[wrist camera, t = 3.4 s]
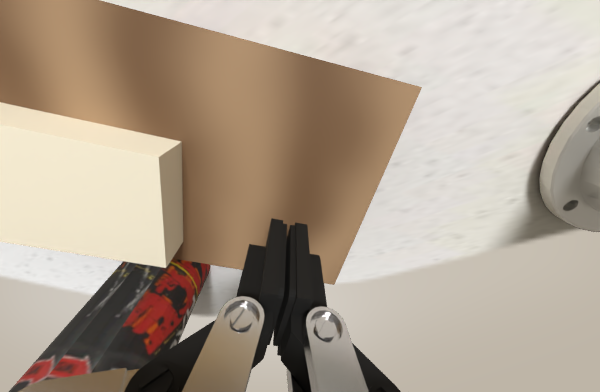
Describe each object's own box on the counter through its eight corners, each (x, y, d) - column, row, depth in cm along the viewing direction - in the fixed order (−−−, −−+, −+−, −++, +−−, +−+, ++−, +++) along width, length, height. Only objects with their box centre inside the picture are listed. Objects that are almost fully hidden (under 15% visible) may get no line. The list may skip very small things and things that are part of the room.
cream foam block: (181, 141, 11) (158, 157, 9) (183, 241, 14) (166, 267, 12) (-45, 92, 10) (-119, 99, 8) (9, 211, 13) (-38, 235, 11)
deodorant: (124, 234, 18) (-294, 649, 5) (199, 231, 18) (-47, 652, 5) (151, 286, 21) (-78, 635, 8) (217, 284, 21) (85, 637, 8)
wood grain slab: (389, 80, 13) (422, 87, 10) (327, 243, 19) (334, 284, 15) (-18, -30, 11) (-168, -72, 7) (54, 193, 17) (-11, 228, 13)
